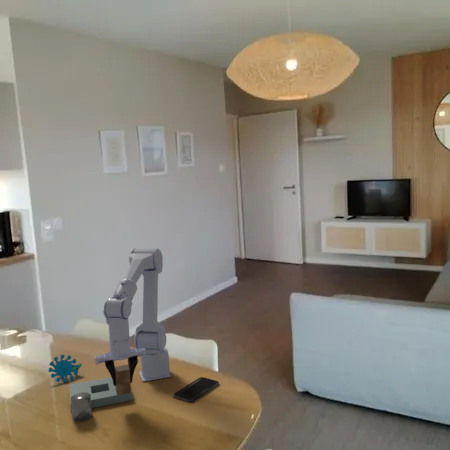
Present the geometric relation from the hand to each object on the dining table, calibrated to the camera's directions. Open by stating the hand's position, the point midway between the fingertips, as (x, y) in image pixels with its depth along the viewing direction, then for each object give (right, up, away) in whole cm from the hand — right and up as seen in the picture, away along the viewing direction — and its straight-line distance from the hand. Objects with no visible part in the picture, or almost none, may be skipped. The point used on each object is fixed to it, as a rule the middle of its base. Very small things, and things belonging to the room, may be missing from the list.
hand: (122, 382), depth 137 cm
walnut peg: (0, -2, 0) cm, 2 cm away
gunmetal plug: (-11, -9, -3) cm, 14 cm away
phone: (+21, -6, +10) cm, 25 cm away
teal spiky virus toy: (-25, -7, +23) cm, 35 cm away
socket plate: (-9, -7, +9) cm, 15 cm away
